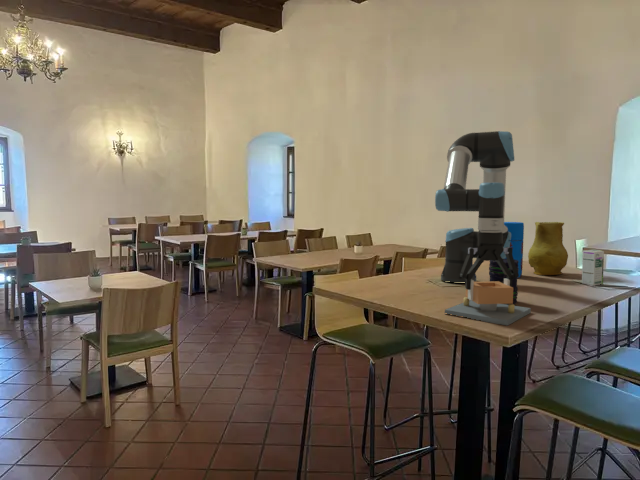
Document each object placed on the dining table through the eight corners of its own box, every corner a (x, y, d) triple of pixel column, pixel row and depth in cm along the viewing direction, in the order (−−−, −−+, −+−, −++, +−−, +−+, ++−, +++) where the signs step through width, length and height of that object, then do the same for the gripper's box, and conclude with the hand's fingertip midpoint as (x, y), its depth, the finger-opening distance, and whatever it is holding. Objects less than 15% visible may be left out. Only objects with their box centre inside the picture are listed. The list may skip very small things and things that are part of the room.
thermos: (519, 278, 215) (521, 223, 213) (495, 276, 221) (496, 222, 218) (523, 275, 224) (525, 222, 222) (499, 273, 230) (501, 221, 228)
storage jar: (523, 303, 167) (525, 261, 165) (499, 305, 164) (501, 262, 162) (505, 297, 176) (506, 257, 175) (482, 299, 173) (483, 259, 172)
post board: (444, 314, 153) (445, 292, 152) (471, 303, 167) (472, 283, 167) (507, 325, 139) (508, 302, 139) (530, 312, 154) (531, 291, 153)
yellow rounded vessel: (520, 271, 235) (522, 221, 232) (555, 270, 237) (557, 220, 234) (539, 277, 218) (542, 223, 215) (577, 276, 220) (580, 222, 217)
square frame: (465, 296, 158) (465, 281, 158) (497, 296, 159) (498, 281, 158) (478, 304, 147) (478, 288, 147) (512, 303, 148) (513, 287, 147)
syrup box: (593, 285, 198) (595, 251, 196) (581, 283, 203) (582, 249, 202) (603, 284, 200) (604, 250, 198) (590, 282, 205) (591, 249, 204)
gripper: (458, 232, 146) (456, 302, 148) (532, 231, 148) (529, 301, 150) (450, 230, 154) (448, 297, 156) (520, 230, 155) (518, 296, 157)
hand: (488, 299), depth 153 cm, fingers closed on square frame, 11 cm apart
